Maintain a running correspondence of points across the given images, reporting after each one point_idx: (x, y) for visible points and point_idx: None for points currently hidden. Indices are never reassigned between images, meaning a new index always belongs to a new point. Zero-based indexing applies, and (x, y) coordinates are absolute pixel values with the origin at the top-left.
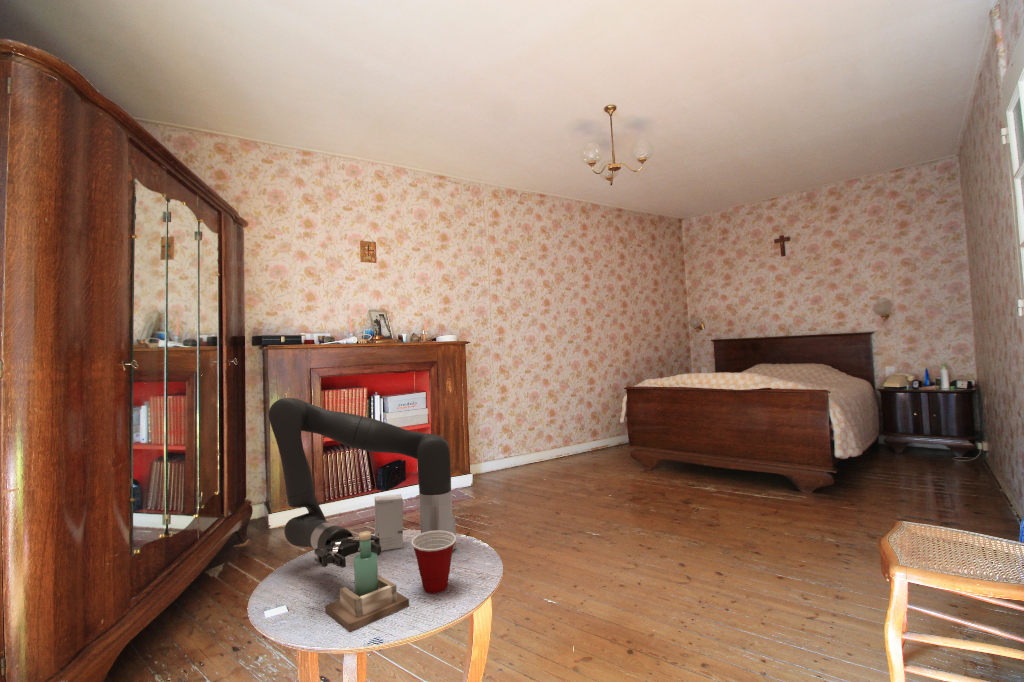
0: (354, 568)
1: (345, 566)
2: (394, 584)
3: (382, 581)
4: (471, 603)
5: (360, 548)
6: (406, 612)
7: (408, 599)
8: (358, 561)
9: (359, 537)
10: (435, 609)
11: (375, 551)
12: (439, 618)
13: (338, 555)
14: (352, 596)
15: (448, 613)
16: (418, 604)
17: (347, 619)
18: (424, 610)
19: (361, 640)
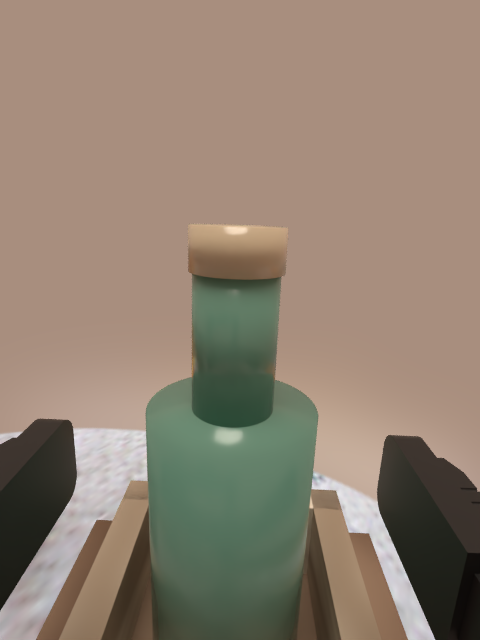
0: (311, 484)
1: (379, 496)
2: (130, 487)
3: (127, 558)
4: (19, 433)
5: (277, 337)
6: None
7: (98, 521)
8: (303, 398)
9: (286, 253)
10: (86, 470)
11: (54, 487)
12: (128, 440)
13: (458, 494)
14: (342, 534)
15: (94, 440)
16: (72, 527)
17: (370, 572)
18: (106, 487)
19: (342, 494)
